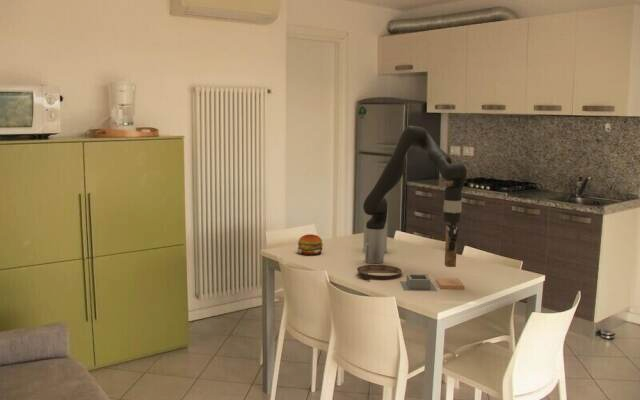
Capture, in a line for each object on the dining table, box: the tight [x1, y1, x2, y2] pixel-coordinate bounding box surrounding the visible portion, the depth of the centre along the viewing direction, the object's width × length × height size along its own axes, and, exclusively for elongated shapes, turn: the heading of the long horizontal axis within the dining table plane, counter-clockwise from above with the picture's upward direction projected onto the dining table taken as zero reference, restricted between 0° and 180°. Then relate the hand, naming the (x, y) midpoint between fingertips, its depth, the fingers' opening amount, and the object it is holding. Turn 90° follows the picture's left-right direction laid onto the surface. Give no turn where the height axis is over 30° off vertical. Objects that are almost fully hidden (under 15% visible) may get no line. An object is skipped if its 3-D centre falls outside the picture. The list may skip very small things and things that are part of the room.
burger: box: [297, 234, 324, 256], centre depth 320 cm, size 14×14×10 cm
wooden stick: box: [444, 228, 458, 268], centre depth 260 cm, size 4×4×16 cm
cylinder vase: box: [363, 205, 389, 254], centre depth 324 cm, size 12×12×25 cm
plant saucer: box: [356, 264, 403, 280], centre depth 278 cm, size 21×21×3 cm
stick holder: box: [399, 273, 438, 292], centre depth 258 cm, size 14×14×5 cm
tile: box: [435, 277, 465, 290], centre depth 261 cm, size 10×3×12 cm
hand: (450, 249), depth 260 cm, fingers closed on wooden stick, 4 cm apart
